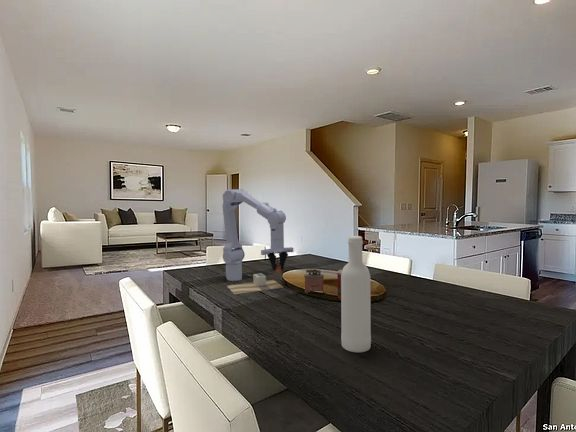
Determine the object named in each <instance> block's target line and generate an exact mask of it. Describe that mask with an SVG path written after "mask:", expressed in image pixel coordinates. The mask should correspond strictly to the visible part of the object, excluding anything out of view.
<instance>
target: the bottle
mask: <svg viewBox="0 0 576 432" xmlns="http://www.w3.org/2000/svg"><path fill="white" fill-rule="evenodd" d="M347 243H348V263H346V264H345V265H344V266H343V268H342V269H343V270H342V274H341V300H340V301H341V304H340V307H341V311H340V312H341V315H340V316H341V323H340V324H341V335H340V336H341V337H340V339H341V340H340V342H341V346H342V348H343V349H344V350H346V351H348V352H351V353H365V352H367V351H369V350H370V349H371V344H372V335H371V334H372V333H371V328H372V327H371V323H372V321H371V318H372V316H371V274H370V270H369V268H368V266H367V265H365V264H364V263H363V243H364V241H363V237H362V236H361V235H350V236H348V241H347Z"/></svg>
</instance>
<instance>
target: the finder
mask: <svg viewBox="0 0 576 432" xmlns="http://www.w3.org/2000/svg"><path fill="white" fill-rule="evenodd" d="M252 278H253V281H252V282H253V283H254V284H255V285H256V286H264V285H266V280H267V276H266V275H265V274H263V273H253V274H252Z"/></svg>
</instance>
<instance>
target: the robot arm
mask: <svg viewBox="0 0 576 432" xmlns="http://www.w3.org/2000/svg"><path fill="white" fill-rule="evenodd" d="M222 200H223V201H222V202H223V203H222V214H223V222H224V223H223V224H224V231H225V240H226V244H225V245H224V247H223V248H222V260H223V262H224V263H225V278H226V280H227V281H229V282H231V281H232V282H237V281H240V280H242V279H243V272H242V271H243V268H242V266H243V265H242V263H243V260H244V259H245V251H244V248H243V245H242V244H241V243H240V242H239V237H238V228H237V220H236V211H235V210H236V209H237V207H239V205H241V204H242V203H245V204H247V205H248V206H250V207H252V208H253V209H256V213H257V214H258V215H259V216H261V217H263V218H264V219H265V220H267V223H268V225H269V228H270V230H269V231H270V248H266V249H261V250H260V255H262V256H265V255H266V256H267V258H268V259H269V262H270V264H271V268H272V269H271V270H273V271H274V272H275V271H276V263H277V255H276V254H278V255H279V257H278V258H279V263H280V264H281V271H283V270H284V267H285V263H286V261H287V258H288V256H289V253H294V247H292V246H291V247H290V246H289V247H285V239H284V238H285V237H284V236H285V235H284V234H285V233H284V232H285V231H284V227H285V225H284V224H285V222H286V220H287V216H286V213H285V212H283V210H278V209H277V208H276V207H273V206H270V204H269V202H261V201H258V200H257V198H255V197H253V196H252V195H251V194H249V193H248V191H246V190H244V189H242V188H239V189H232V188H228V189H226V190H225V191H224V193H223V194H222Z"/></svg>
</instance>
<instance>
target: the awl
mask: <svg viewBox="0 0 576 432" xmlns="http://www.w3.org/2000/svg"><path fill="white" fill-rule="evenodd" d="M274 274H276V275H280V274H282V270H281V264H280V262H279V260H278V259H276V271H274Z"/></svg>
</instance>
